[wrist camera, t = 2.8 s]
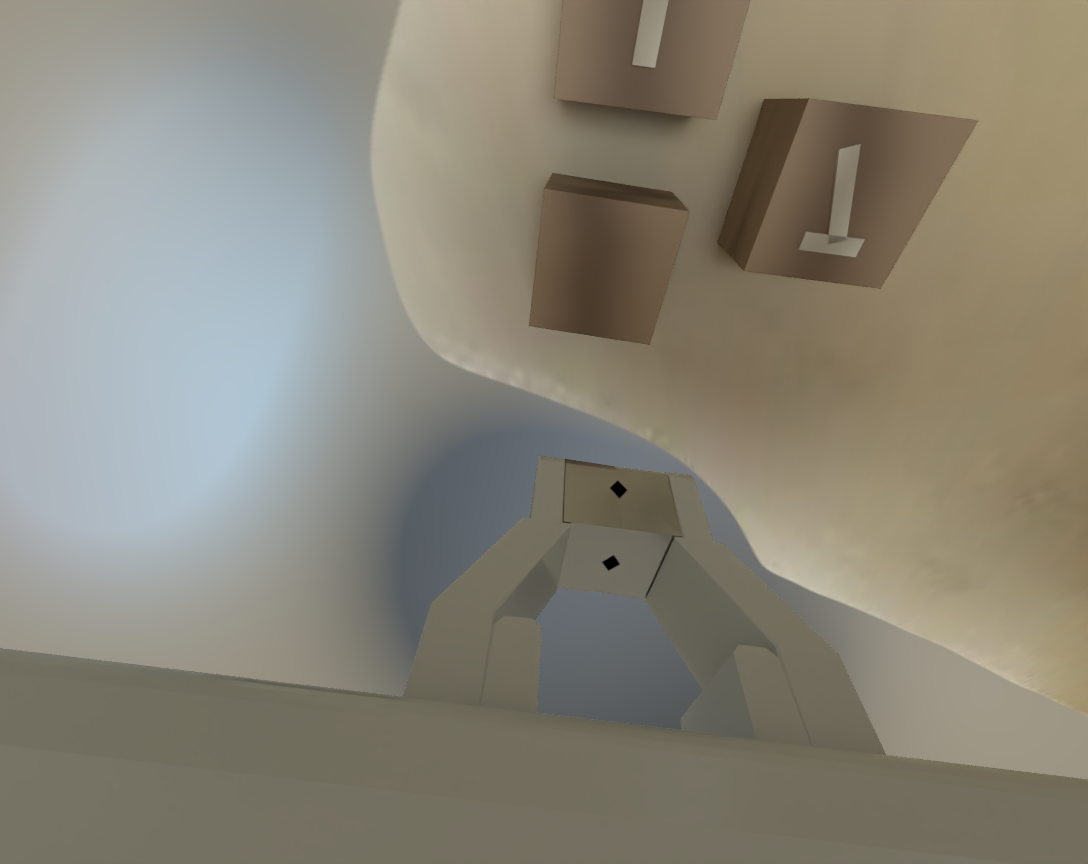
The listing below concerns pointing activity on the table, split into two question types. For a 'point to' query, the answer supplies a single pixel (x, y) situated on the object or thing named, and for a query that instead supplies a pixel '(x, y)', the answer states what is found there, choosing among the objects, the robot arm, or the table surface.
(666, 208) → the plain block
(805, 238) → the numbered block 7
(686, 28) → the numbered block 1
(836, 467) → the table surface
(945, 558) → the table surface
